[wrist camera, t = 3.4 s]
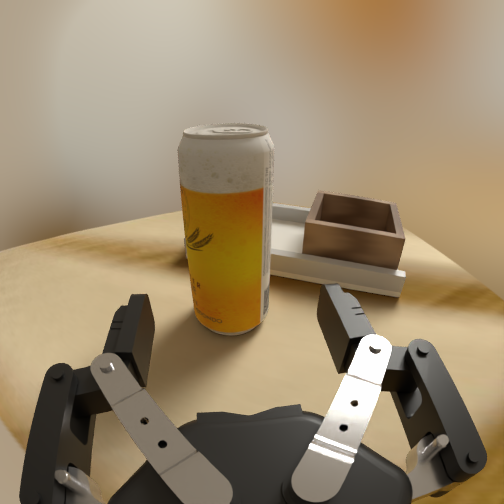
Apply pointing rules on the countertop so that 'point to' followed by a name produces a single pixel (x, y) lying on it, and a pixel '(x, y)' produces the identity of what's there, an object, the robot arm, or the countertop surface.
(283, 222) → the tray
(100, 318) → the countertop surface
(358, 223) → the crate
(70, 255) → the countertop surface
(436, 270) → the countertop surface
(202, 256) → the beer can
